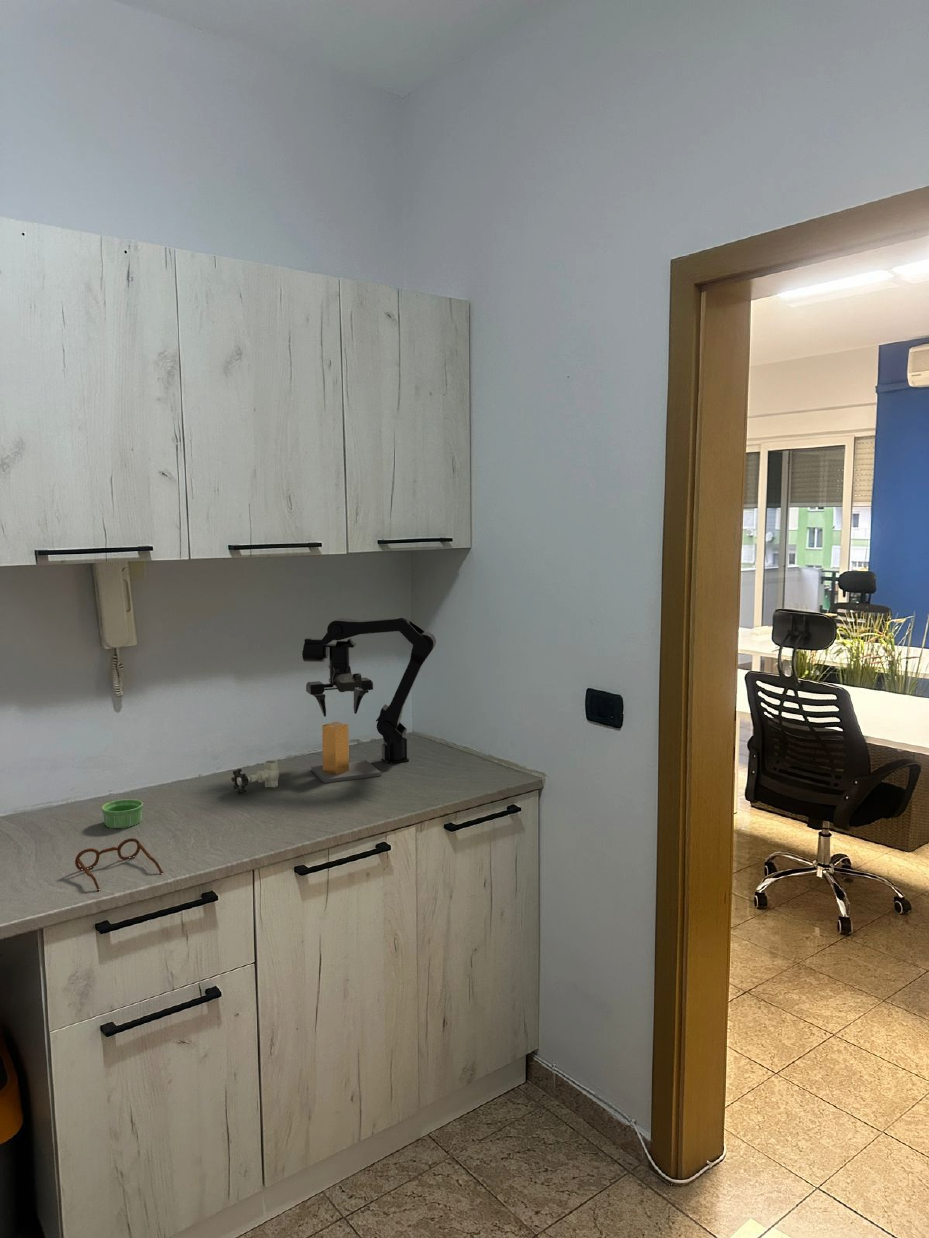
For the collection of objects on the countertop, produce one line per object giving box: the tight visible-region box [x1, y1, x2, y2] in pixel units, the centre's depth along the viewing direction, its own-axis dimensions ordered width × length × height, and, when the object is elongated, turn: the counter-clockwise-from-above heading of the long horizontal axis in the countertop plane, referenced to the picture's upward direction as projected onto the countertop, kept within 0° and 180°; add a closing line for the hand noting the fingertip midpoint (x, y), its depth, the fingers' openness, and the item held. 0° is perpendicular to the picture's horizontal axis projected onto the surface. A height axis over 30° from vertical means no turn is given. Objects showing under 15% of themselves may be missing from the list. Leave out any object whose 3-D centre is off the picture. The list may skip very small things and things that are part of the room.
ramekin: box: [101, 798, 144, 829], centre depth 207 cm, size 9×9×4 cm
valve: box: [230, 759, 280, 795], centre depth 232 cm, size 7×7×12 cm
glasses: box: [74, 837, 164, 890], centre depth 179 cm, size 13×13×5 cm
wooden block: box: [321, 721, 350, 775], centre depth 244 cm, size 5×5×13 cm
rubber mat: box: [310, 759, 382, 784], centre depth 247 cm, size 16×13×1 cm
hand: (340, 714), depth 260 cm, fingers open, 9 cm apart
